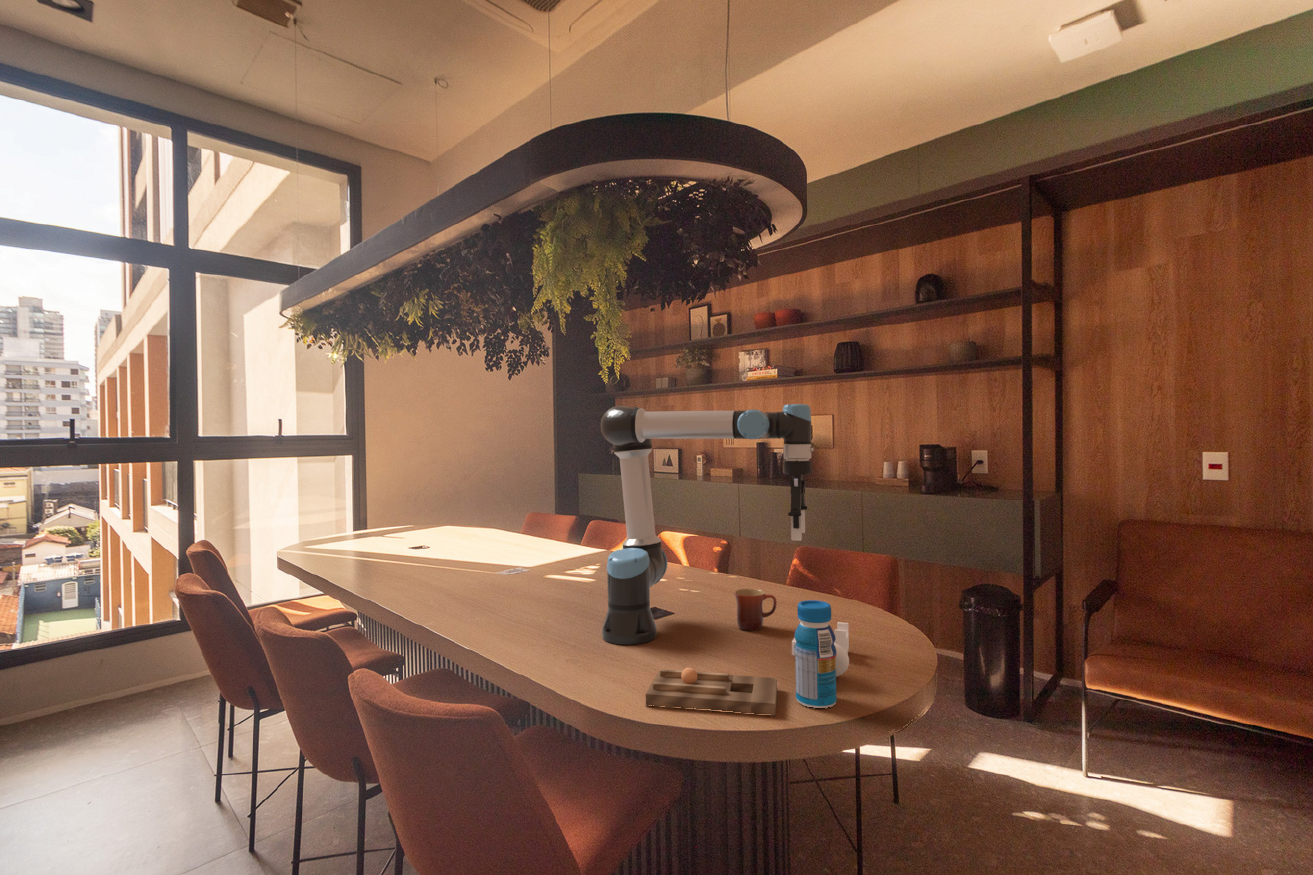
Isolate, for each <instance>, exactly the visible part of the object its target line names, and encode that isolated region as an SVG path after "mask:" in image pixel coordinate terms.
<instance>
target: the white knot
mask: <svg viewBox="0 0 1313 875" xmlns="http://www.w3.org/2000/svg"><path fill="white" fill-rule="evenodd" d="M834 645H835V647H836V652H837V654H836V678H837V677H839V676H842V675H843V674H845V673H846V671H847V670H848V668H849V664H850V657H849V653H848V654H847V652H846V650H845V649H844V648H843V647H841V646H840V645H838V644H835V643H834Z"/></svg>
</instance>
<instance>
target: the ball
mask: <svg viewBox="0 0 1313 875" xmlns="http://www.w3.org/2000/svg"><path fill="white" fill-rule="evenodd" d="M682 671H683V672H682V674H681V678H682V680H683V682H684V683H685V684H694V683H695V682H696V680H697V672H698V671H697V670H696V669H694V668H693V667H686V668H683V669H682Z"/></svg>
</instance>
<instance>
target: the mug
mask: <svg viewBox="0 0 1313 875" xmlns="http://www.w3.org/2000/svg"><path fill="white" fill-rule="evenodd" d="M733 593H734V596H735V601H736V623H737V627H738V628H739V629H740V630H742V631H745V632H756V631H759V630H761V629H762V628H763V624H764V618H767V617H770V616H771V615H773V614H774V613H775V611H776V609H777V606H778V605H777V598H776V597H775V595H774V594H771V593H769V594H766V592H765V591H764V590H762V589H758V588H740V589H736V590H734V592H733ZM769 598H770V599H772V601H773V602H772V603H773V604H772V608H771V609H770V610H769V611H767V612H764V610H763V606H764V605H763V604H764V601H765V600H766V599H769Z"/></svg>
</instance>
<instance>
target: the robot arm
mask: <svg viewBox="0 0 1313 875" xmlns="http://www.w3.org/2000/svg"><path fill="white" fill-rule="evenodd" d="M600 431H601V435H602V436H603V437H604V439H605V440H606V441H607V442H609V443H611V444H612V446H613V453H614V455H616V457H618V458H619V464H620V467H619V468H620V474H621V475H620V476H621V485H622V486H621V487H622V496H623V497H622V498H623V508H624V519H625V529H626V539H625V540H624V541H623V542H622V548H621V549H617V550H615V551H613V552H611V553H610V554H609V555H608V557H607V564H606V573H607V574H606V575H607V577H606V578H607V611H606V615H605V617H604V622H603V625H602V629H601V633H602V634H601V635H602V639H603V641H606V642H607V643H611V644H616V645H622V646H623V645H625V646H626V645H628V646H629V645H639V644H644V643H649V642H650V641H653V640H654V639H655V638H656V637H657V634H658V630H657V625H656V621H655V619H654V616H653V613H652V610H651V602H650V600H651V599H650V598H651V597H650V595H651V593H650V590H651V587H652V586H654V585H656V584H657V583H659V582H660V581H661V580H662V578H664V575H665V574H666V572H667V569H668V559H667V558H668V557H667V554H666V553H665V551H664V549H662V539H661V538H660V537H659V536H657V535H656V528H655V527H656V526H655V517H654V504H653V497H652V496H653V495H652V485H651V475H650V474H651V473H650V465H649V462H650V461H649V454H651V452H652V451H653V442H652V440H657V439H658V440H662V439H663V440H665V439H666V440H667V439H668V440H669V439H671V440H678V439H679V440H681V439H682V440H683V439H685V440H689V439H690V440H695V439H696V440H699V439H700V440H704V439H705V440H710V439H711V440H713V439H714V440H715V439H717V440H718V439H719V440H721V439H723V440H727V439H728V440H729V439H731V440H732V439H733V440H735V439H737V440H769V439H771V440H772V439H776V440H777V439H783V459H785V460H784V461H783V473H784V474H785V475H792V478H791V480H790V481H789V485H790V486H789V487H790V512H788V514H787V516H789V517H790V538H791V539H790V540H791V541H794V542H795V541H797V542H801V541H803V535H802V534H805V533H806V511H807V510H808V505H806V502H805V501H806V500H805V499H806V498H805V497H806V496H805V494H806V482H807V481H806V480H805V476H804V475H811V474H812V473H813V472H812V470H813V469H812V467H813V466H812V461H811V460H810V459H812V452H814V451H815V449H814V447H812V411H811V406H809V405H808V404H806V403H805V404H804V403H794V404H793V403H790V404H789V403H788V404H784V405H783V408H782V411H775V412H774V411H772V412H771V411H770V412H769V411H767V412H766V411H765V412H764V411H762V410H758V409H747V410H746V409H745V410H683V411H681V410H680V411H679V410H678V411H677V410H673V411H672V410H670V411H669V410H668V411H667V410H666V411H663V410H662V411H658V410H657V411H647V410H646V409H644V408H642V407H637V406H627V405H615V406H612V407H610V408H609V409H608V410H607V411H605V412H604V414H603V416H602V417H601V421H600Z"/></svg>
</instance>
